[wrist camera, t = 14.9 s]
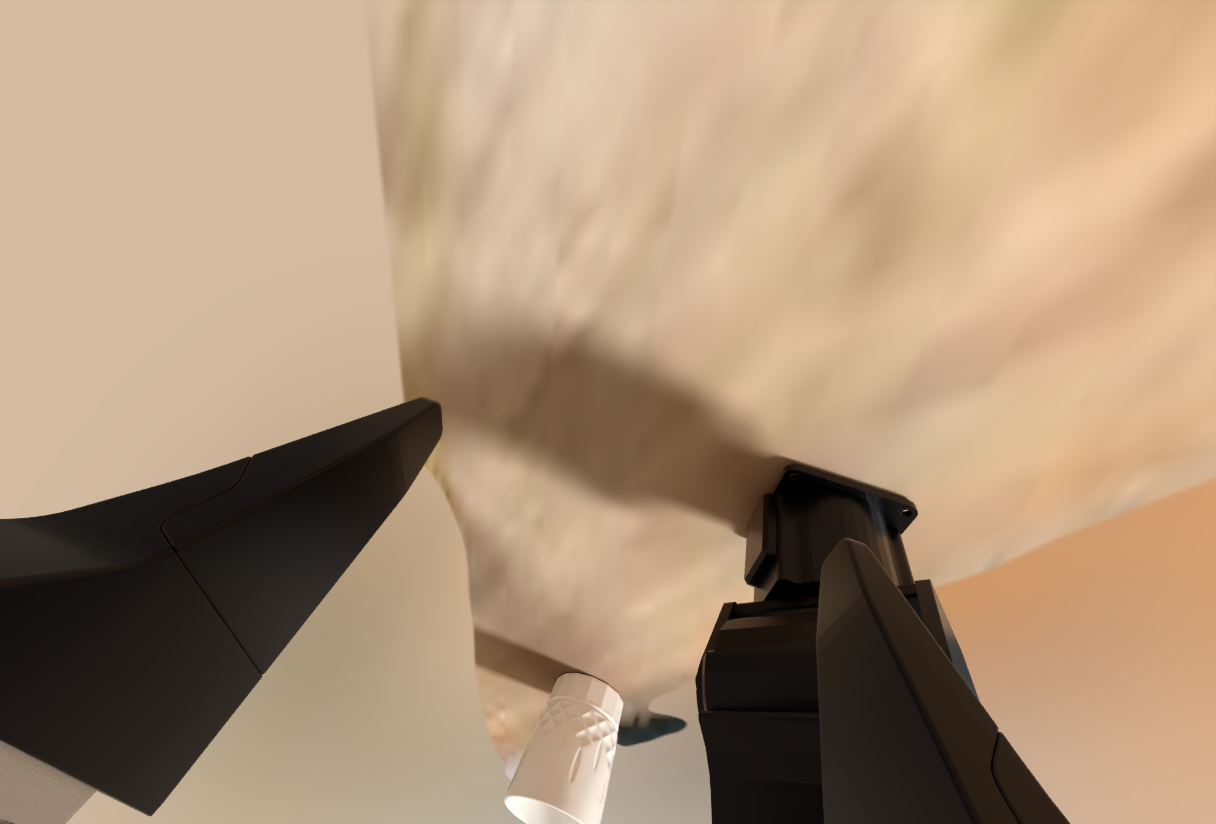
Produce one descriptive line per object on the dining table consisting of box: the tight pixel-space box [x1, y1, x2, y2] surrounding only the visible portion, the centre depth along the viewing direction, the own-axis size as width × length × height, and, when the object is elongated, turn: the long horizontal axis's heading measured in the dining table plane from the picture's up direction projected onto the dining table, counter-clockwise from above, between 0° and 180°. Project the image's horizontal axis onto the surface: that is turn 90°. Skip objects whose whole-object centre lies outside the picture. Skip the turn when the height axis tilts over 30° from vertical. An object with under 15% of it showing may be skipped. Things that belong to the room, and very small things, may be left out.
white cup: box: [504, 673, 623, 824], centre depth 40 cm, size 8×8×10 cm
